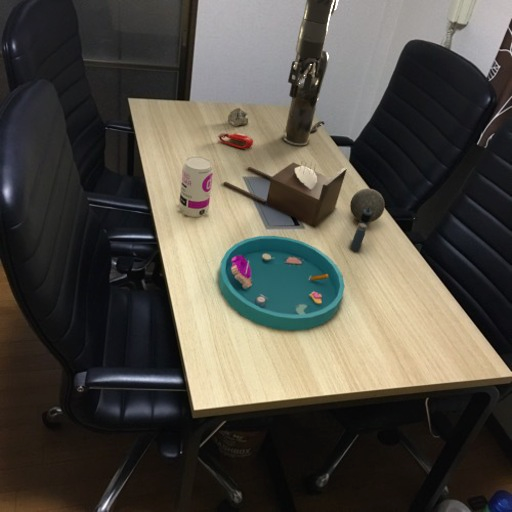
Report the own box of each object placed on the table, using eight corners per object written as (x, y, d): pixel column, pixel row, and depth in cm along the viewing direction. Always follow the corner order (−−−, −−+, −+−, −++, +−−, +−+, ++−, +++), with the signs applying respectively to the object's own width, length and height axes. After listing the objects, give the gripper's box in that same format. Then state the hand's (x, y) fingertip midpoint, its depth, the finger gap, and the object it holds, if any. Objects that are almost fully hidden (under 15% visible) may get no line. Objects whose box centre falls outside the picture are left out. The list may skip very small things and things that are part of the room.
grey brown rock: (227, 121, 194) (229, 104, 190) (246, 122, 197) (249, 105, 193) (229, 126, 191) (232, 109, 187) (249, 127, 194) (252, 109, 190)
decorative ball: (349, 206, 159) (358, 178, 153) (380, 216, 157) (391, 188, 151) (343, 222, 151) (352, 193, 145) (375, 232, 150) (386, 204, 144)
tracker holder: (242, 132, 186) (260, 137, 180) (240, 144, 188) (257, 150, 181) (216, 129, 178) (233, 135, 171) (214, 142, 180) (231, 148, 173)
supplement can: (213, 208, 146) (219, 162, 137) (198, 221, 140) (204, 173, 130) (188, 198, 148) (193, 152, 139) (173, 211, 142) (176, 163, 132)
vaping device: (361, 243, 144) (374, 207, 137) (358, 253, 140) (371, 217, 133) (352, 240, 144) (364, 204, 137) (349, 250, 140) (361, 214, 133)
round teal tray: (219, 242, 134) (221, 224, 130) (329, 253, 138) (334, 235, 134) (218, 325, 110) (221, 306, 107) (351, 335, 114) (358, 316, 111)
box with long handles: (249, 169, 168) (256, 129, 159) (335, 208, 157) (347, 168, 149) (223, 185, 157) (229, 144, 148) (313, 228, 146) (325, 186, 138)
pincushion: (289, 168, 153) (293, 151, 150) (308, 169, 155) (312, 152, 151) (300, 189, 144) (304, 172, 141) (320, 190, 146) (325, 173, 142)
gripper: (312, 45, 134) (299, 104, 144) (334, 37, 145) (321, 92, 155) (288, 36, 137) (277, 95, 147) (311, 29, 147) (299, 84, 157)
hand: (299, 93), depth 151 cm, fingers open, 8 cm apart
